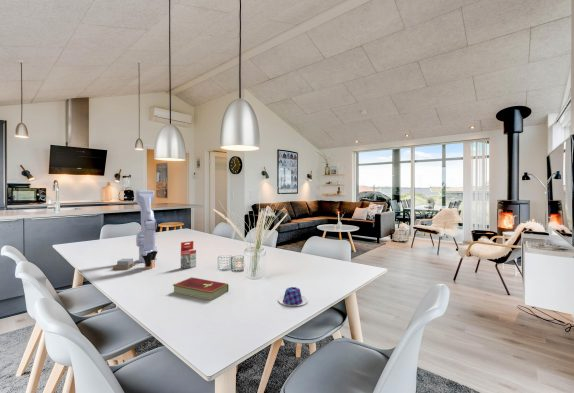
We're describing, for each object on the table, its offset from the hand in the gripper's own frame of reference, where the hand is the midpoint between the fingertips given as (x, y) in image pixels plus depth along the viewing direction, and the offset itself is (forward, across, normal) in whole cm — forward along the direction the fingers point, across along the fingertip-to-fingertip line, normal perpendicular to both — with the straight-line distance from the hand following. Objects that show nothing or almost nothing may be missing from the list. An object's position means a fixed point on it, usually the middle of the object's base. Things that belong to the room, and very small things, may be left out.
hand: (149, 265), depth 161 cm
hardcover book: (+2, +39, +38) cm, 54 cm away
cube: (+1, 0, 0) cm, 1 cm away
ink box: (+2, 0, +22) cm, 22 cm away
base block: (+2, 0, -14) cm, 15 cm away
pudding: (+2, +51, +78) cm, 93 cm away
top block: (0, -1, -14) cm, 14 cm away
